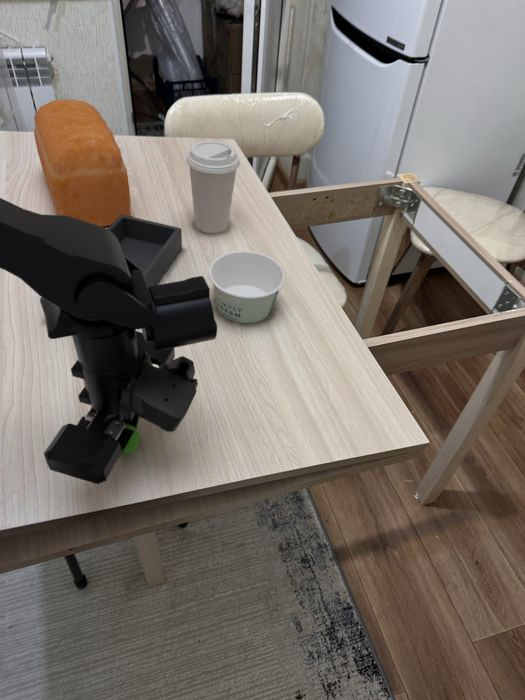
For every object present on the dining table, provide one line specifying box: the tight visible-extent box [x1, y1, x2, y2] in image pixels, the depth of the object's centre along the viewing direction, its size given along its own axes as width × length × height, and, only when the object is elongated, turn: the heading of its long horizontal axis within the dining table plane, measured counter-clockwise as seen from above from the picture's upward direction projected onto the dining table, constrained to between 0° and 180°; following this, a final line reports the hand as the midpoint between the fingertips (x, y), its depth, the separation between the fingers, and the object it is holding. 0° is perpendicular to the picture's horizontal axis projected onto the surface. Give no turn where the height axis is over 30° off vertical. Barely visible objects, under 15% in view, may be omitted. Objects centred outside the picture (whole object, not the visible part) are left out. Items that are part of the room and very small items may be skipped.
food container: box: [208, 250, 286, 324], centre depth 78 cm, size 12×12×6 cm
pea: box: [123, 424, 141, 455], centre depth 58 cm, size 4×4×4 cm
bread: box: [33, 99, 132, 227], centre depth 94 cm, size 14×26×16 cm, turn 25°
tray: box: [39, 214, 183, 316], centre depth 80 cm, size 12×26×4 cm, turn 165°
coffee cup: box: [185, 140, 241, 235], centre depth 91 cm, size 10×10×15 cm
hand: (125, 442), depth 59 cm, fingers closed on pea, 3 cm apart
